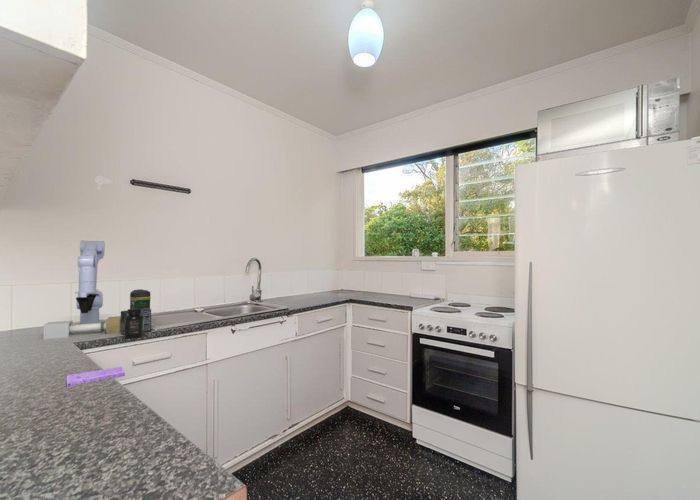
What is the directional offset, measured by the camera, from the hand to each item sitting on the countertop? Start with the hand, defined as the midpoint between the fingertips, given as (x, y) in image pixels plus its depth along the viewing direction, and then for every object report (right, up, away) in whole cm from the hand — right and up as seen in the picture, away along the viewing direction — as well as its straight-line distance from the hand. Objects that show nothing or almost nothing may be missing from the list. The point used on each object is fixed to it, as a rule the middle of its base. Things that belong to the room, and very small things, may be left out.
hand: (86, 312), depth 144 cm
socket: (+10, -10, +4) cm, 14 cm away
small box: (+21, -10, +2) cm, 23 cm away
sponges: (+48, -9, -54) cm, 73 cm away
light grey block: (-7, -10, -6) cm, 13 cm away
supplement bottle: (+25, -10, -6) cm, 28 cm away
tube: (+2, -9, -1) cm, 9 cm away
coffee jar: (+15, -11, +14) cm, 23 cm away
